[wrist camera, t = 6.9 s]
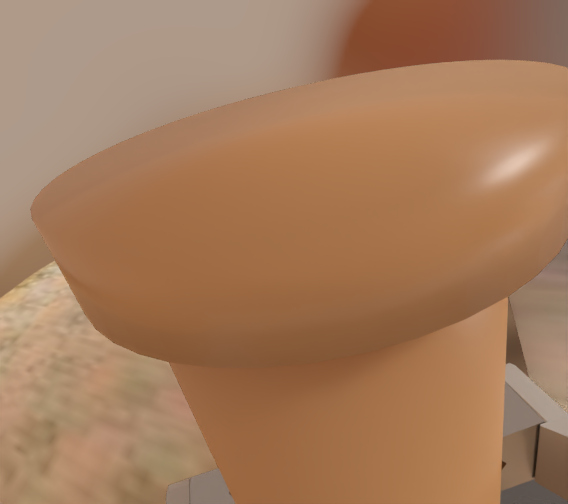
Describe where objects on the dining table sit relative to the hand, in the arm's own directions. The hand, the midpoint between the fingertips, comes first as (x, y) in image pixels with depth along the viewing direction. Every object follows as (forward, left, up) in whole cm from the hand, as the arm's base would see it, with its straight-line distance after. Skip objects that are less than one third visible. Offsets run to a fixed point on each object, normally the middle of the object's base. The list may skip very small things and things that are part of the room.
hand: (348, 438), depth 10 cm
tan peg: (+1, 0, -11) cm, 11 cm away
